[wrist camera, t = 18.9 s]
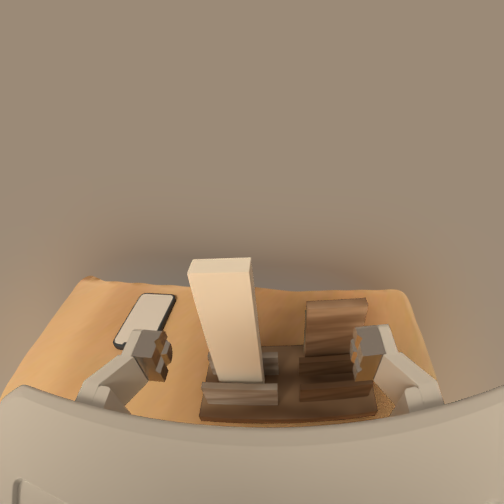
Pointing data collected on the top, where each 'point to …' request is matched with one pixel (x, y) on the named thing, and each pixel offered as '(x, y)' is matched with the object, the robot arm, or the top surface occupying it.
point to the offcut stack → (332, 325)
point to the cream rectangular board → (229, 317)
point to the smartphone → (146, 316)
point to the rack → (290, 391)
